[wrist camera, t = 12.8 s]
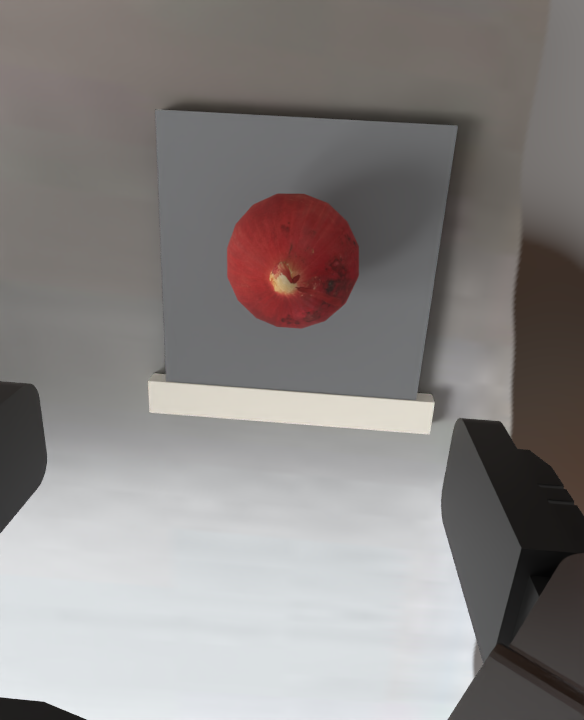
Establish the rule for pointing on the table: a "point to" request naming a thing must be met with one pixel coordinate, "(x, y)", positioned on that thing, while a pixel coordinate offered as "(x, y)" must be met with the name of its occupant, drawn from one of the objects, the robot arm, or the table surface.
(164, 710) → the table surface
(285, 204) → the onion
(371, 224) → the mat
